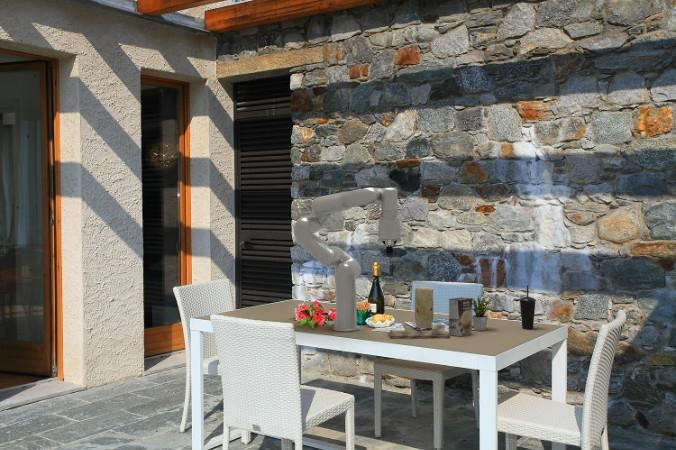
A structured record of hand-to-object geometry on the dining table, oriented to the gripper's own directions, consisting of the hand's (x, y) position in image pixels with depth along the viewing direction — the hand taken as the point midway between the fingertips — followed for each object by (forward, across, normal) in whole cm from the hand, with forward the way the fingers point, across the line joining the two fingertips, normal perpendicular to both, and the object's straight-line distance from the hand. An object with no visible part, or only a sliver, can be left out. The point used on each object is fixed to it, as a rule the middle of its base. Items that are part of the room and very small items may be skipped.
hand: (389, 255), depth 335 cm
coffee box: (+35, +31, -8) cm, 48 cm away
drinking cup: (+35, +64, +5) cm, 73 cm away
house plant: (+35, +42, +2) cm, 55 cm away
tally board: (+35, +12, -12) cm, 39 cm away
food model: (+35, +16, +6) cm, 39 cm away
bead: (+34, +20, -12) cm, 41 cm away
